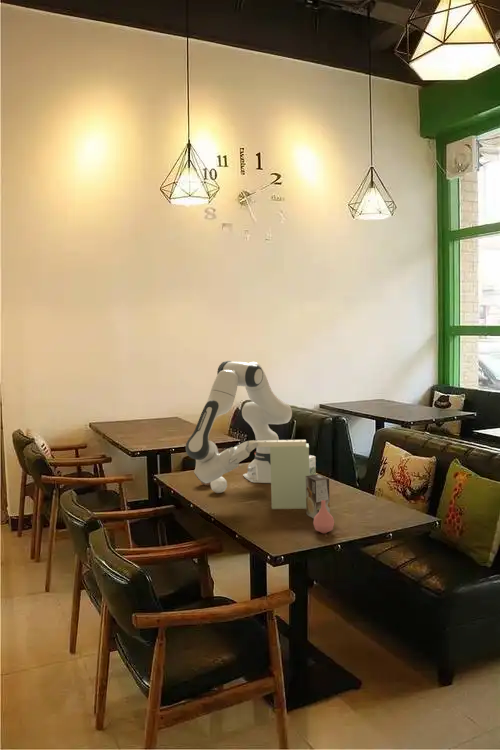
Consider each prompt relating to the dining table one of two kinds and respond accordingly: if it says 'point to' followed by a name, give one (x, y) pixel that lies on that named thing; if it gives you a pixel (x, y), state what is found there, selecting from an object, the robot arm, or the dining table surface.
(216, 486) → the geometric ball
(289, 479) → the shelf block
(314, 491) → the coffee box
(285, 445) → the domino bar
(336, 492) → the dining table surface
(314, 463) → the syrup box
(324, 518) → the pink vase
